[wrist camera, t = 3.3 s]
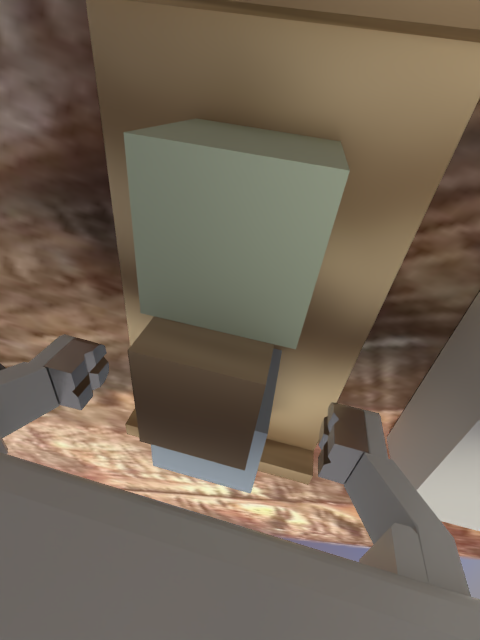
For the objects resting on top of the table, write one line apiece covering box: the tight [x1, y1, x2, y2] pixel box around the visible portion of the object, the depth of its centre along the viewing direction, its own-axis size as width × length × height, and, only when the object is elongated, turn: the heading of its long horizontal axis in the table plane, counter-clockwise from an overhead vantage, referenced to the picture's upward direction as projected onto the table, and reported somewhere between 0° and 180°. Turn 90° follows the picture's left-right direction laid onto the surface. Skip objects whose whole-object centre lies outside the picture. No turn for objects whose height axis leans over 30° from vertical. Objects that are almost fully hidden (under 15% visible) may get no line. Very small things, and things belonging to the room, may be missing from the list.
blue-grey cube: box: [151, 348, 282, 493], centre depth 14 cm, size 4×4×4 cm
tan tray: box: [86, 0, 480, 485], centre depth 12 cm, size 20×11×8 cm, turn 173°
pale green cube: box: [124, 118, 350, 349], centre depth 9 cm, size 4×4×4 cm
